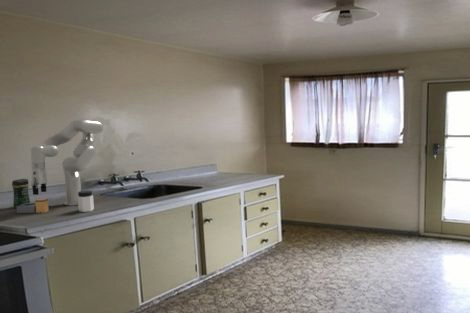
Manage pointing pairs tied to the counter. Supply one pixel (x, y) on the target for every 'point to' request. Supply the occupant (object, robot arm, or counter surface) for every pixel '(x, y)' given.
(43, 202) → the block
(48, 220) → the counter surface
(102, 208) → the counter surface
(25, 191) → the coffee jar
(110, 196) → the counter surface
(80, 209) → the jar
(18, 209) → the holder
